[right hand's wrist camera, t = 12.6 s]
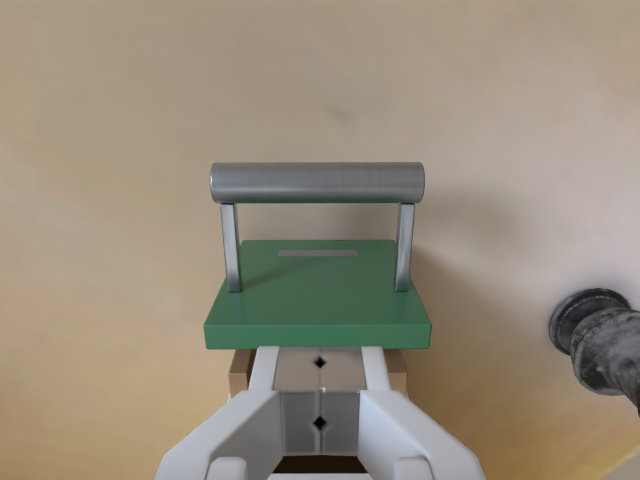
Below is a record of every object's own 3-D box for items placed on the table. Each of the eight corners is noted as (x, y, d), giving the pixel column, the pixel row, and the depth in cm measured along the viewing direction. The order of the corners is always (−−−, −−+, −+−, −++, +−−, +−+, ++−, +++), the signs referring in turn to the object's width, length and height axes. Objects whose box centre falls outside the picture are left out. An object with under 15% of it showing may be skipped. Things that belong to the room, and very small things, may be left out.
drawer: (235, 140, 23) (185, 180, 15) (400, 140, 23) (448, 179, 15) (257, 442, 31) (233, 583, 23) (380, 442, 31) (403, 582, 23)
